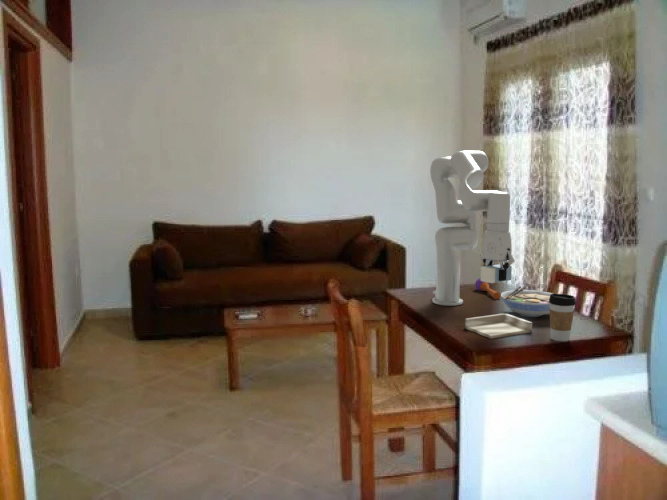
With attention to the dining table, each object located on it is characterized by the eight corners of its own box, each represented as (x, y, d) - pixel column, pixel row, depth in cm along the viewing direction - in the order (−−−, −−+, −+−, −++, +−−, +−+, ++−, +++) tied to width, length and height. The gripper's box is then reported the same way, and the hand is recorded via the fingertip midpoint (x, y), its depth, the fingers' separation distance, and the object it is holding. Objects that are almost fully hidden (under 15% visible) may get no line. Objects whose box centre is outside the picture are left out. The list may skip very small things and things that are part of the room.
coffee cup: (542, 335, 212) (544, 292, 210) (566, 334, 213) (569, 292, 211) (553, 342, 204) (555, 298, 202) (578, 342, 205) (580, 297, 202)
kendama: (489, 290, 263) (472, 277, 283) (491, 303, 265) (474, 290, 284) (502, 287, 264) (484, 275, 283) (504, 300, 266) (486, 287, 285)
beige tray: (464, 328, 221) (465, 318, 220) (504, 322, 229) (505, 313, 228) (490, 338, 209) (491, 328, 208) (531, 332, 216) (532, 322, 216)
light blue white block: (500, 277, 223) (500, 264, 222) (511, 280, 219) (511, 266, 218) (480, 280, 218) (481, 266, 217) (491, 283, 213) (492, 268, 213)
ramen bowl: (553, 327, 223) (554, 304, 221) (490, 317, 235) (491, 296, 233) (568, 312, 243) (569, 291, 242) (510, 304, 256) (511, 284, 254)
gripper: (472, 226, 221) (470, 276, 223) (509, 230, 206) (508, 284, 209) (486, 224, 225) (485, 274, 227) (524, 229, 211) (522, 281, 213)
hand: (496, 278), depth 218 cm, fingers closed on light blue white block, 5 cm apart
